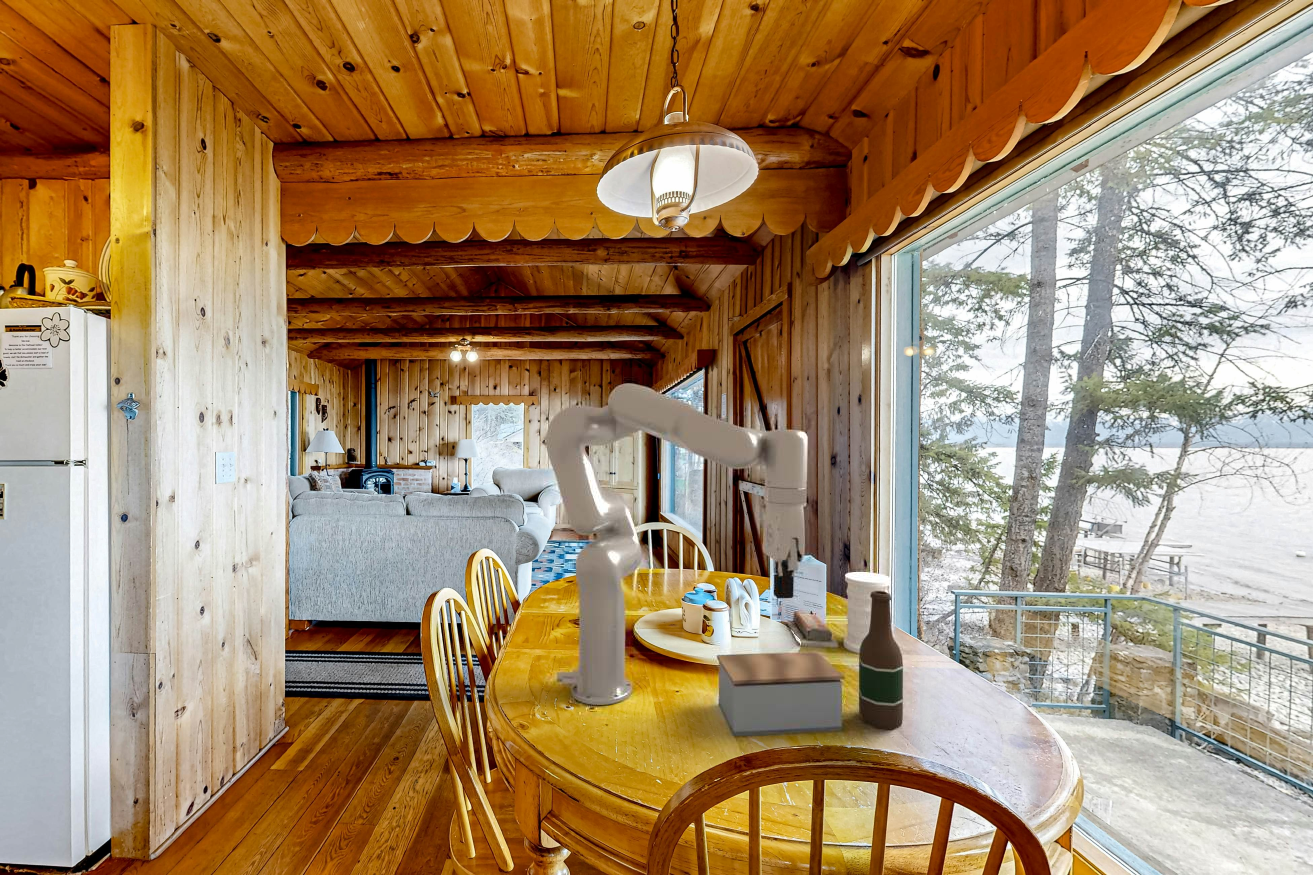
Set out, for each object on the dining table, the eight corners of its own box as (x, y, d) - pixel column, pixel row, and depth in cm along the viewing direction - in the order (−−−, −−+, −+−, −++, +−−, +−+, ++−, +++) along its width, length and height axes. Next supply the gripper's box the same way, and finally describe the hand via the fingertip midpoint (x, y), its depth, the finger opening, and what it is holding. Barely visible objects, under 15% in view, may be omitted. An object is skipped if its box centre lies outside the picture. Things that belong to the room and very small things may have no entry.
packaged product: (786, 608, 160) (821, 609, 160) (786, 625, 160) (821, 626, 160) (800, 629, 142) (839, 630, 142) (800, 648, 142) (839, 649, 142)
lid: (733, 684, 98) (733, 680, 98) (716, 658, 111) (716, 654, 111) (844, 679, 100) (844, 675, 100) (816, 654, 113) (815, 650, 113)
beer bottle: (899, 735, 99) (899, 600, 99) (854, 723, 103) (854, 593, 103) (905, 717, 106) (906, 590, 106) (863, 706, 110) (863, 585, 110)
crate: (733, 736, 98) (734, 686, 98) (718, 704, 110) (718, 660, 110) (841, 730, 100) (842, 681, 100) (815, 700, 112) (815, 656, 112)
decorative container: (869, 637, 149) (869, 570, 150) (902, 652, 139) (902, 580, 139) (833, 642, 145) (834, 573, 146) (864, 658, 135) (865, 584, 135)
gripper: (753, 492, 109) (751, 586, 109) (779, 501, 94) (776, 609, 94) (790, 493, 110) (788, 586, 109) (821, 501, 95) (819, 609, 95)
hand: (783, 596), depth 102 cm, fingers closed
